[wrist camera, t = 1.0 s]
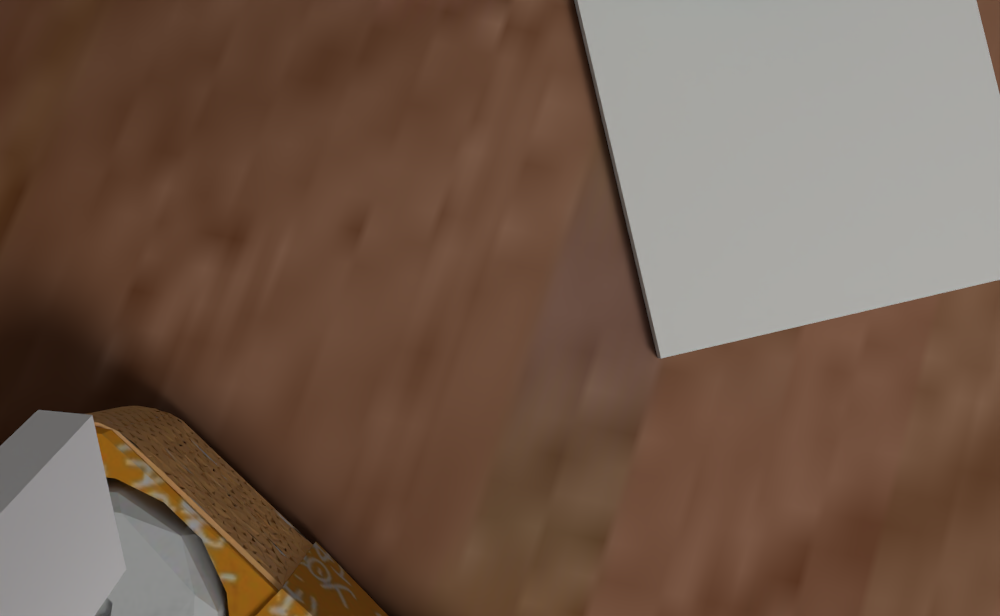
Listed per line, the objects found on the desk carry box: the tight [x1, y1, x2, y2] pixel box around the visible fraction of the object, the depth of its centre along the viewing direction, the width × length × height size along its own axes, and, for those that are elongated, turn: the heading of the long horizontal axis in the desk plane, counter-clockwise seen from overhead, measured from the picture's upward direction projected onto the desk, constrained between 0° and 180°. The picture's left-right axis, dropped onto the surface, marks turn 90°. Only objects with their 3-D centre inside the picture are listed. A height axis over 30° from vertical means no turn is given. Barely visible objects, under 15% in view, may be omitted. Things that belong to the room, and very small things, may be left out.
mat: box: [574, 0, 1000, 358], centre depth 35 cm, size 22×16×1 cm
